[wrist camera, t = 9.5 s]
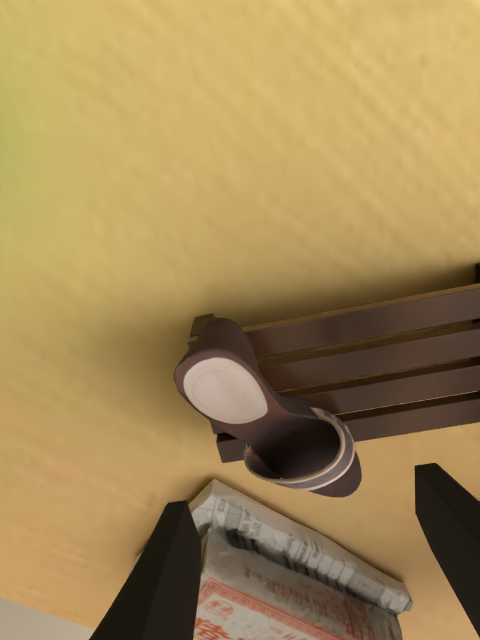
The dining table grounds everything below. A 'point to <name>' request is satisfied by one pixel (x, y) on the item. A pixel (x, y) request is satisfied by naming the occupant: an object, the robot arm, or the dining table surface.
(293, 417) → the heeled mule
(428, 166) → the dining table surface
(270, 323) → the slatted bench
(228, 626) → the packaged product
